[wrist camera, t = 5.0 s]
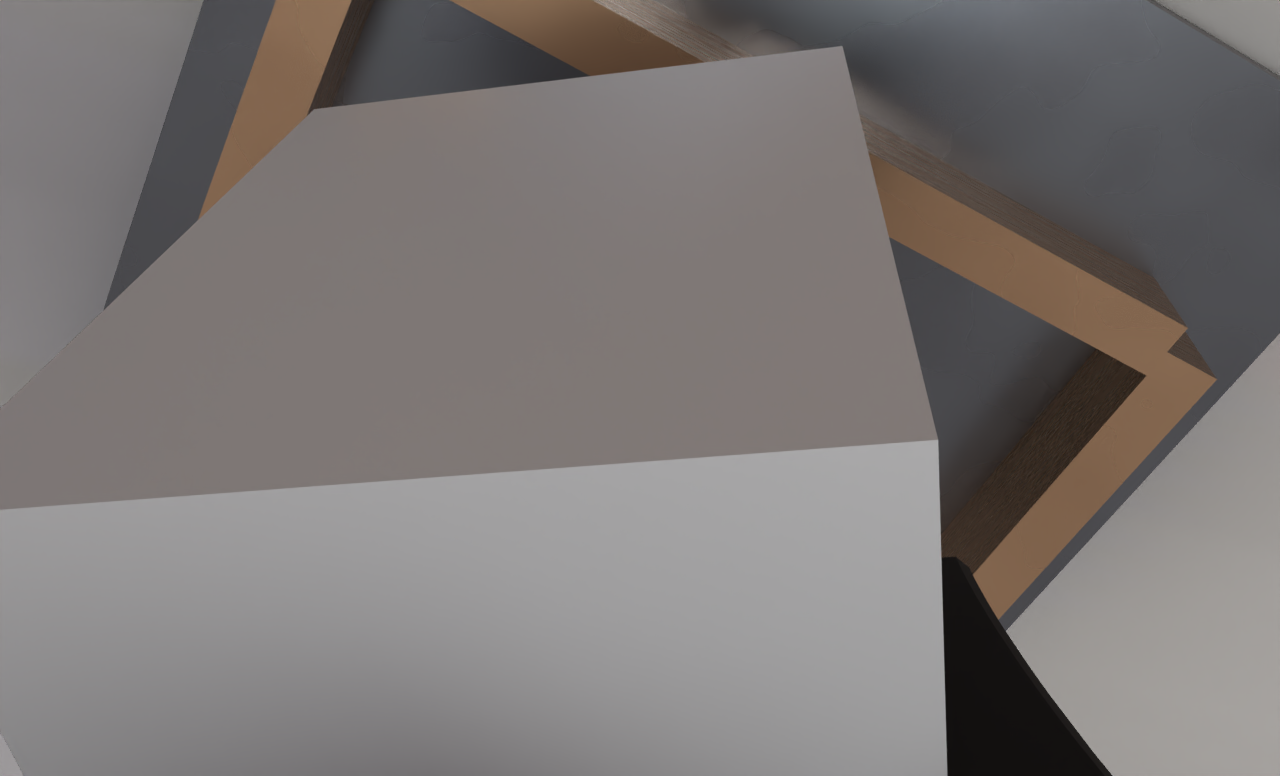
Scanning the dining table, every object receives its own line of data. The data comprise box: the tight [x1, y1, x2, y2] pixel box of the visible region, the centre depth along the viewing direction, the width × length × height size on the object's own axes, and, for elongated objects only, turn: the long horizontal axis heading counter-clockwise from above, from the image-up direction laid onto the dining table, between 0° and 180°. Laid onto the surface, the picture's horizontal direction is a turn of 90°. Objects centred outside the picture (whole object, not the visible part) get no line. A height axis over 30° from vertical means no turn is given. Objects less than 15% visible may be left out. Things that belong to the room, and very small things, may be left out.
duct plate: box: [103, 0, 1280, 631], centre depth 18 cm, size 15×14×2 cm
